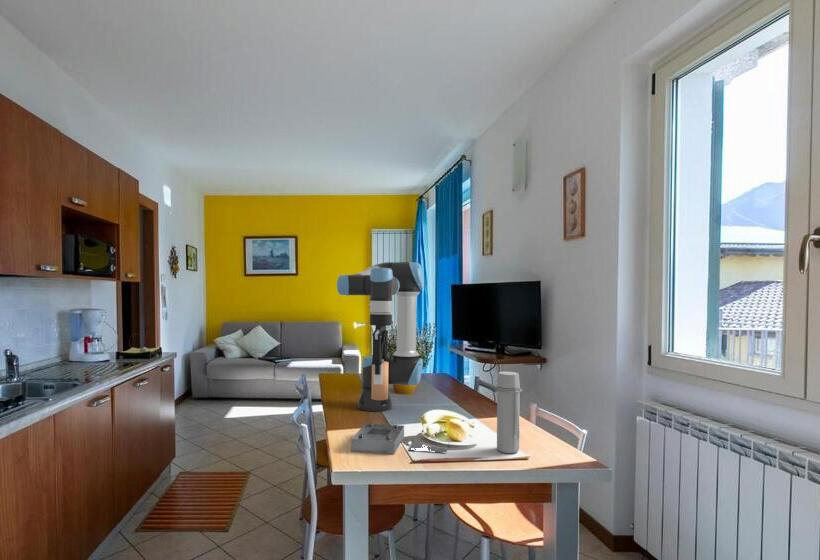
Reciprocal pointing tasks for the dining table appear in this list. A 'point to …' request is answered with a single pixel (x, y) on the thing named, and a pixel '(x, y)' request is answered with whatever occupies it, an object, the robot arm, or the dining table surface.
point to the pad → (417, 444)
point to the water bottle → (508, 412)
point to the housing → (377, 438)
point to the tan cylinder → (380, 390)
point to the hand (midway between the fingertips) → (379, 382)
